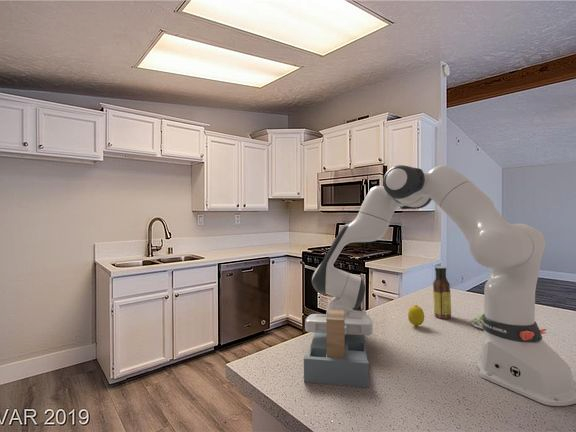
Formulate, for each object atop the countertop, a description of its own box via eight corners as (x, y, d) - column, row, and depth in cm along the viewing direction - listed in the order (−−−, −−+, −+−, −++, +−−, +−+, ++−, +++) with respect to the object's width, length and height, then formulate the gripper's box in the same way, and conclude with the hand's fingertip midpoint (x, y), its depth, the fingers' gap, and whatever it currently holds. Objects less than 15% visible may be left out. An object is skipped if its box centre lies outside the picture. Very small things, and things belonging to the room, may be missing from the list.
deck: (315, 340, 109) (314, 322, 109) (364, 343, 106) (364, 324, 106) (304, 382, 83) (303, 358, 83) (368, 387, 80) (368, 363, 80)
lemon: (421, 324, 122) (421, 303, 122) (426, 329, 117) (426, 307, 116) (406, 323, 123) (406, 302, 122) (410, 329, 117) (410, 307, 117)
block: (328, 351, 93) (328, 309, 93) (344, 352, 93) (344, 310, 92) (326, 364, 86) (326, 319, 85) (344, 365, 85) (343, 320, 84)
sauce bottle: (452, 315, 131) (452, 266, 130) (450, 320, 125) (450, 269, 125) (434, 313, 134) (434, 265, 134) (431, 317, 129) (431, 267, 129)
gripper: (307, 307, 108) (301, 321, 95) (370, 309, 105) (373, 325, 91) (307, 326, 109) (301, 343, 95) (370, 329, 105) (373, 347, 91)
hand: (337, 334), depth 93 cm, fingers closed
